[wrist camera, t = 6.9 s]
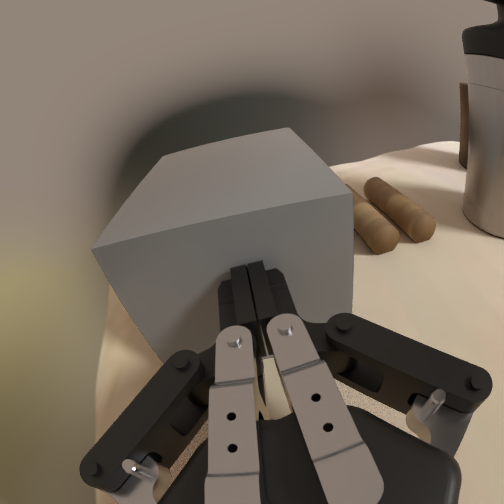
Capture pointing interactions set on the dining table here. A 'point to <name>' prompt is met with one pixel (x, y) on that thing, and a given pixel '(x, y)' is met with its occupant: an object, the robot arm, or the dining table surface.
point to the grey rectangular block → (229, 236)
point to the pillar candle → (464, 124)
